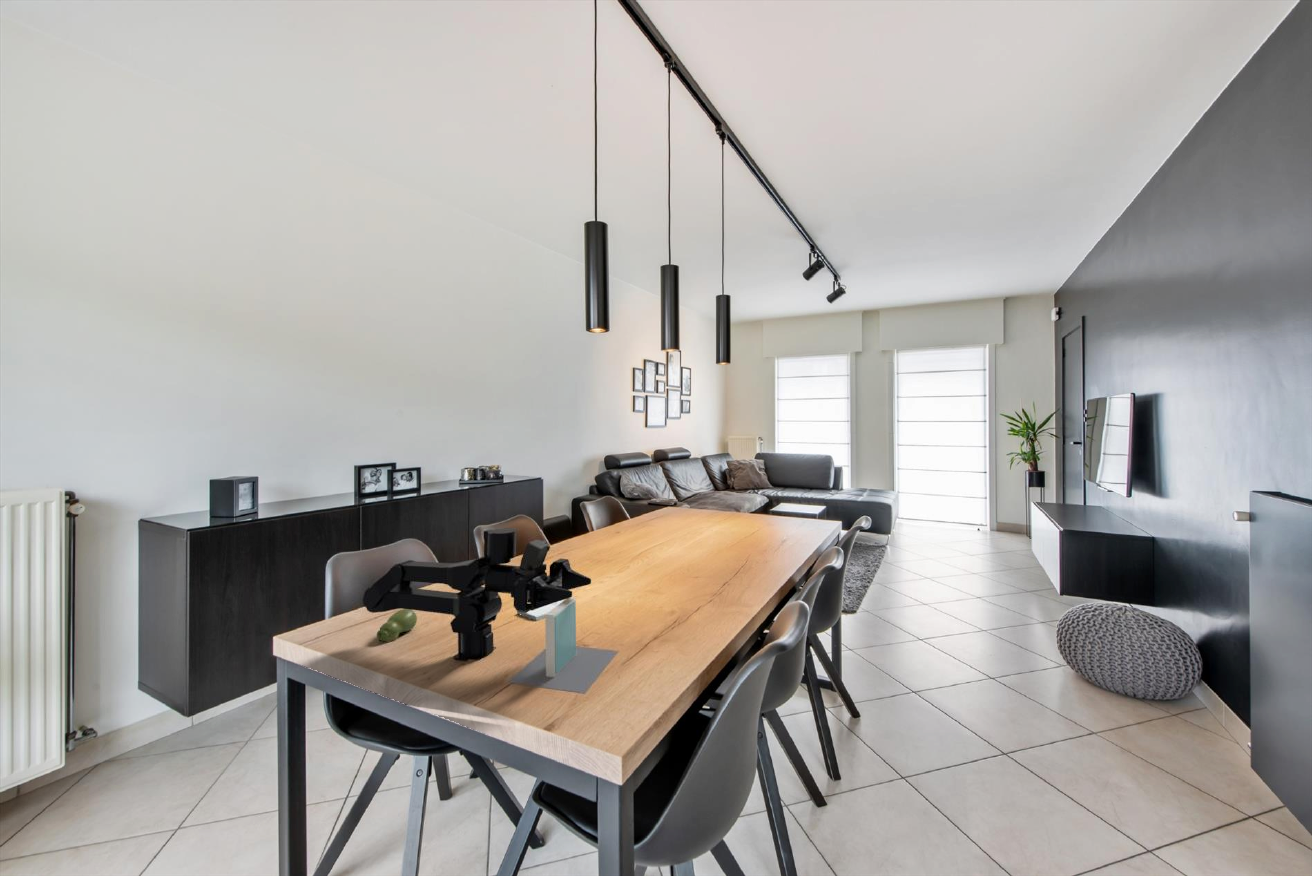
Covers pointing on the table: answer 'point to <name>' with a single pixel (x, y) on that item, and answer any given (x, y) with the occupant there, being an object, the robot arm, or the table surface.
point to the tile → (560, 636)
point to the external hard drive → (540, 611)
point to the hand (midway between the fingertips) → (581, 587)
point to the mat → (567, 671)
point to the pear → (397, 625)
